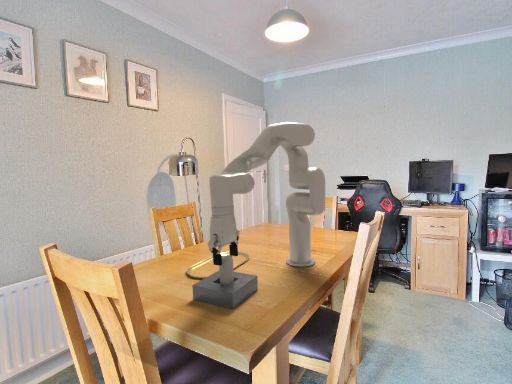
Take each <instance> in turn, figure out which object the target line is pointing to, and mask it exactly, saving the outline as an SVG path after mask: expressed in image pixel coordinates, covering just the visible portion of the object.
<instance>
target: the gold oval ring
mask: <svg viewBox="0 0 512 384" xmlns="http://www.w3.org/2000/svg"><path fill="white" fill-rule="evenodd" d="M220 253H221V254H222V256H224V255H230V251H226V252H220ZM238 256H241V257H244V258H245V260H243V261H242V262H240V263H238V264H237V265H236V266H233V270H235V269H237V268H239V267H240V266H241V265H242V264H243V265H244V264H245V263H246V262H247V261H249V259H250V255H249V254H248V253H246V252H242V251H238ZM212 259H213V255H211V256H209V257H207V258H205V259H203V260H201V261H199V262H197V263H195V264H192V265H191V266H189V267H188V268H187V269H186V273H187V275H188V276H190V277H191V278H194V279H199V280H200V279H201V280H203V279H204V278H206V277H207V276H198V275H197V276H196V275H193V274H192V272H193V271H194V270H195V269H197V268H200V267H201V266H203V265H206V264H207V263H210V262H211V261H213V260H212ZM210 260H211V261H210Z"/></svg>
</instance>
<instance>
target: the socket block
mask: <svg viewBox="0 0 512 384" xmlns="http://www.w3.org/2000/svg"><path fill="white" fill-rule="evenodd" d="M233 272H234V282H233V283H231V284H230V285H224V284H220V273H219V270H217V271H215V272H213V273H211V274H210V275H208V276H205V277H206V278H204V279H201V280H199V281H197V282H196V283H194V284H192V300H193V301H198V302H202V303H206V304H209V305H213V306H217V307H218V306H219V307H223V308H226V309H230V310H234V309H235V308H236V307H238V306H239V305H241V304H242V303H243V302H245V300H247V299H248V298H249V297H250V296H251V295H253V294H254V293H255V292H256V291H258V290H259V285H258V284H259V283H258V280H259V279H258V275H256V274H250V273H245V272H238V271H233Z"/></svg>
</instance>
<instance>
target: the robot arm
mask: <svg viewBox="0 0 512 384" xmlns="http://www.w3.org/2000/svg"><path fill="white" fill-rule="evenodd" d="M315 137H316V133H315V129H314V127H312V126H311V125H310V124H309V123H308V124H307V123H301V122H300V123H299V122H292V121H291V122H290V121H285V122H279V123H273V124H269V125H266V127H265V128H264V129H263V130H262V131H261V133H260V134H259V135H258V137H257V138H256V139H255V140H254V141H253V143H252V144H251V145H250V147H249V148H248V149H246V150H244V151H243V152H242V153H241V154H240V155H238V156H237V157H236V158H234V159H232V160H231V161H230V162H229V163H228V164H227V165H226V167H225V168H224V169H223V171H221V174H213V175H210V177H209V193H210V209H211V216H210V222H209V224H210V225H209V241H208V242H207V246H208V249H209V251H210V253H211V254H212V256H213V260H212V262H213V263H212V264H213V265H214V266H221V265H222V254H221V253H222V252H221V251H222V249H223V247H225V246H227V245H228V246H229V252H230V256H232V257H238V256H239V255H238V252H239V249H238V248H239V247H238V245H239V239H240V237H239V236H240V230H239V229H237V223H236V217H235V207H234V205H235V204H234V195H245V194H249V193H251V191H252V190H253V189H254V187H255V179H254V177H253V176H252V175H251V174H249V173H248V172H249V171H252V170H255V169H258V168H259V167H262V166H263V165H266V164H267V163H268V162H269V160H270V159H271V157H272V156H273V155H274V153H275V152H276V150H277V149H278V148H279V147H281V148H282V149H283V150H284V152H285V153H286V156H287V158H288V183H289V185H290V187H291V188H292V189H293V190H294V189H295V190H309V192H307V191H306V192H300V191H298V192H297V191H296V192H291V193H290V194H288V195H287V197H286V199H285V207H286V212H287V215H288V216H287V218H288V234H289V235H288V241H289V244H288V245H289V257H287V258H286V260H285V261H286V264H288V265H290V266H292V267H300V268H303V267H311V266H312V265H314V264H315V261H316V259H314V258H313V257H312V246H311V245H312V243H311V242H312V239H311V237H312V236H311V235H312V234H311V221H310V219H309V216H315V217H316V216H321V215H322V214H323V213H324V211H325V208H326V176H325V173H324V170H322V169H321V168H320V167H317V166H309V156H308V155H309V154H308V153H307V150H306V149H305V148H304V147H307V146H310V145H312V144H313V142H314V140H315Z"/></svg>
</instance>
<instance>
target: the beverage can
mask: <svg viewBox="0 0 512 384" xmlns="http://www.w3.org/2000/svg"><path fill="white" fill-rule="evenodd" d="M218 266H219V265H218ZM233 268H234V259H233V256H230V255H224V256H222V265H221V266H219V267H218V269H219V270H218V271H219V273H220V284H224V285H230V284H231V283H233V282H234V272H235V271H234V269H233Z"/></svg>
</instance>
